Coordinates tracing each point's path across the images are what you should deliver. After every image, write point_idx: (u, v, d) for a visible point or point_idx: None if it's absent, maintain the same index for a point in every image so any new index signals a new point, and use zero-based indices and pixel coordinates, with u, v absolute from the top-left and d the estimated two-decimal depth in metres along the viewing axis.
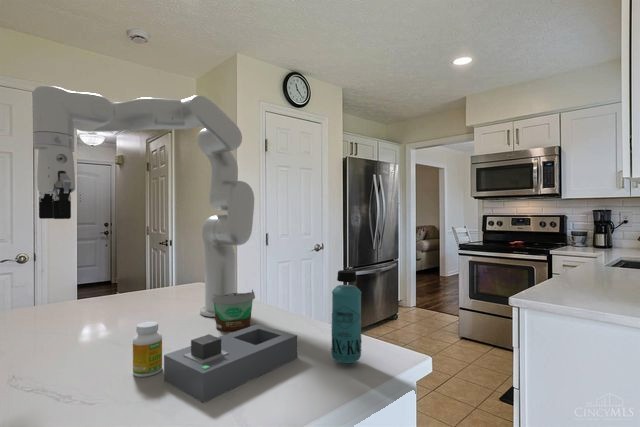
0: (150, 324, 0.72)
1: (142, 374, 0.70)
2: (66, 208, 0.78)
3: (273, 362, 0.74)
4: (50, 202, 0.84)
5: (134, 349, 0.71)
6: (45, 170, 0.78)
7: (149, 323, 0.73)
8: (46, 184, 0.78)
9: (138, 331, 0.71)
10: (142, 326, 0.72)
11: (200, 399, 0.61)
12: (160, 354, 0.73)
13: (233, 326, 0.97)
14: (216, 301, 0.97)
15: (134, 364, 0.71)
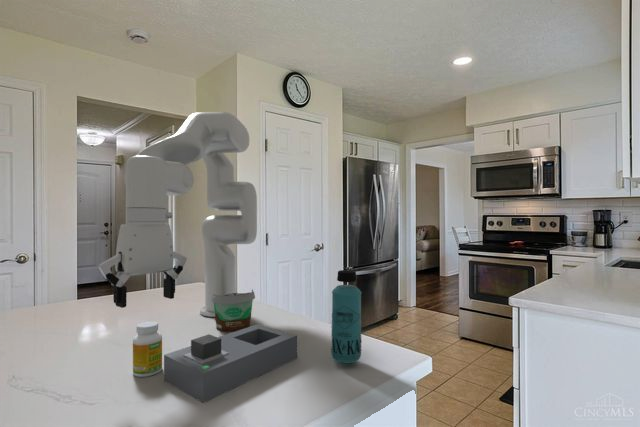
0: (150, 324, 0.72)
1: (142, 374, 0.70)
2: None
3: (273, 362, 0.74)
4: None
5: (134, 349, 0.71)
6: (164, 249, 0.73)
7: (149, 323, 0.73)
8: (163, 264, 0.73)
9: (138, 331, 0.71)
10: (142, 326, 0.72)
11: (200, 399, 0.61)
12: (160, 354, 0.73)
13: (233, 326, 0.97)
14: (216, 301, 0.97)
15: (134, 364, 0.71)
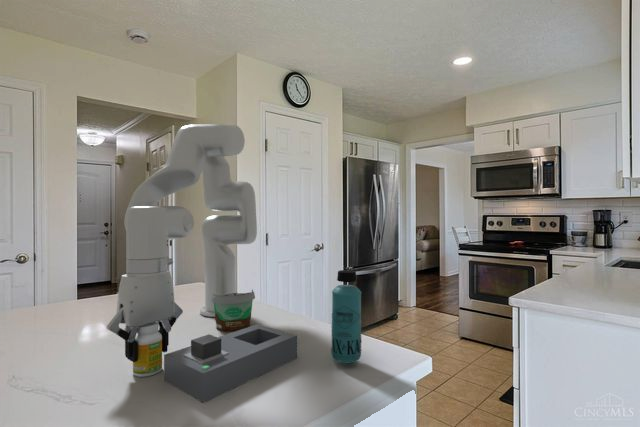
0: (150, 324, 0.72)
1: (142, 374, 0.70)
2: None
3: (273, 362, 0.74)
4: None
5: None
6: (165, 297, 0.74)
7: (149, 323, 0.73)
8: (164, 312, 0.74)
9: (138, 331, 0.71)
10: (142, 326, 0.72)
11: (200, 399, 0.61)
12: (160, 354, 0.73)
13: (233, 326, 0.97)
14: (216, 301, 0.97)
15: (134, 364, 0.71)
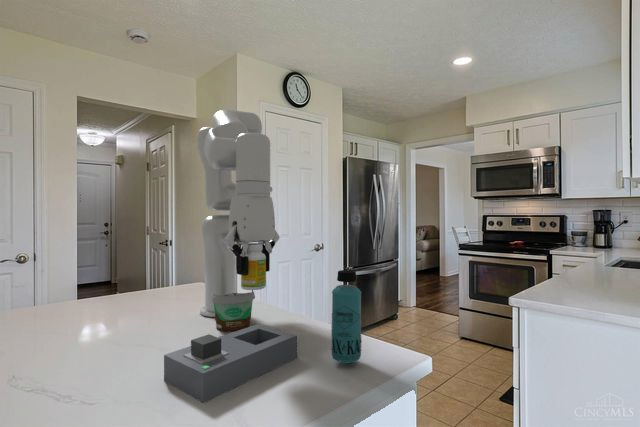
0: (256, 244, 0.78)
1: (252, 287, 0.76)
2: None
3: (273, 362, 0.74)
4: None
5: None
6: (269, 220, 0.79)
7: (254, 243, 0.79)
8: (268, 234, 0.79)
9: None
10: (250, 244, 0.77)
11: (200, 399, 0.61)
12: (265, 271, 0.79)
13: (233, 326, 0.97)
14: (216, 301, 0.97)
15: (244, 278, 0.77)
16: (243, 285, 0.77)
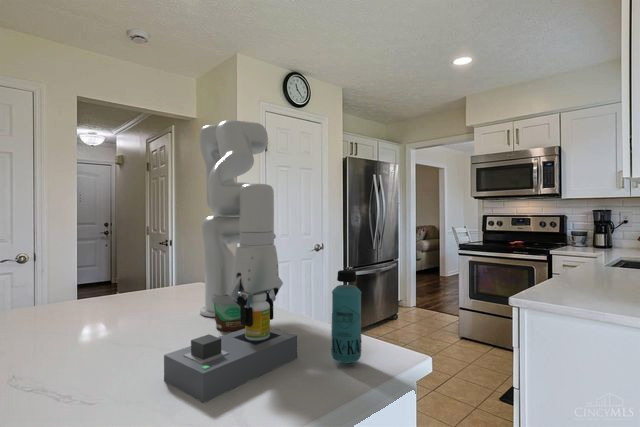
0: (260, 293, 0.78)
1: (256, 338, 0.76)
2: None
3: (273, 362, 0.74)
4: None
5: None
6: (273, 269, 0.80)
7: (258, 292, 0.79)
8: (272, 282, 0.80)
9: None
10: (254, 294, 0.78)
11: (200, 399, 0.61)
12: (269, 321, 0.79)
13: (233, 326, 0.97)
14: (216, 301, 0.97)
15: (248, 329, 0.77)
16: (247, 335, 0.77)
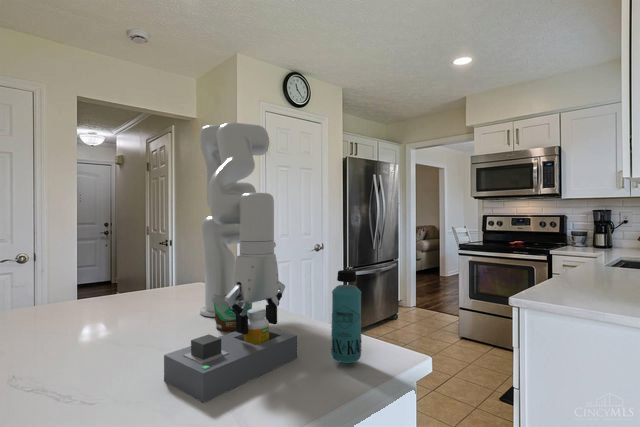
0: (260, 311, 0.79)
1: None
2: None
3: (273, 362, 0.74)
4: None
5: (248, 333, 0.77)
6: (273, 277, 0.80)
7: (257, 310, 0.80)
8: (272, 291, 0.80)
9: (250, 317, 0.77)
10: (254, 312, 0.78)
11: (200, 399, 0.61)
12: (268, 338, 0.79)
13: (233, 326, 0.97)
14: (216, 301, 0.97)
15: None
16: None
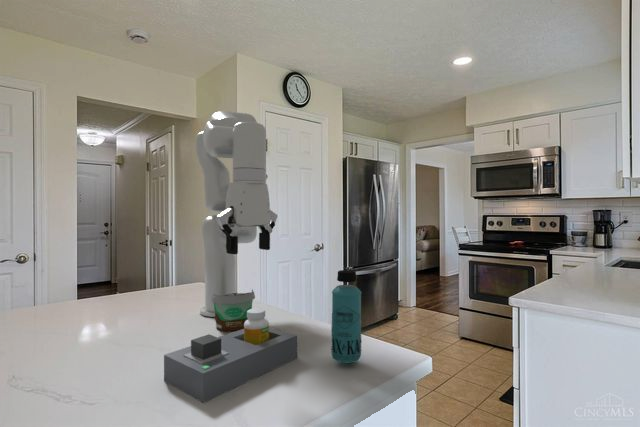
0: (259, 311, 0.79)
1: None
2: None
3: (273, 362, 0.74)
4: None
5: (248, 333, 0.77)
6: (264, 206, 0.83)
7: (257, 309, 0.80)
8: (263, 219, 0.83)
9: (250, 317, 0.77)
10: (253, 312, 0.78)
11: (200, 399, 0.61)
12: (268, 338, 0.79)
13: (233, 326, 0.97)
14: (216, 301, 0.97)
15: None
16: None
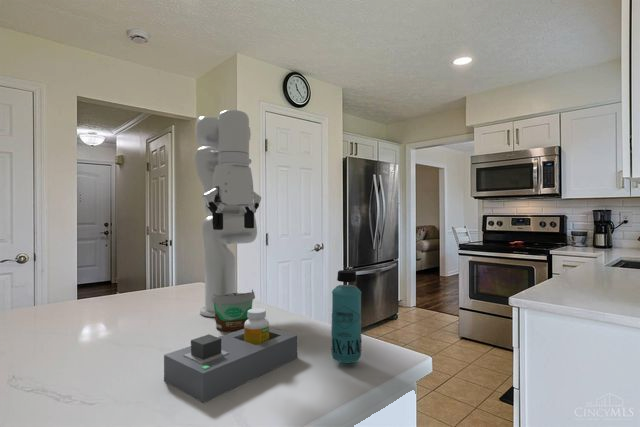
0: (260, 311, 0.79)
1: None
2: None
3: (273, 362, 0.74)
4: None
5: (248, 332, 0.77)
6: (248, 187, 0.91)
7: (257, 309, 0.80)
8: (247, 199, 0.91)
9: (250, 316, 0.77)
10: (254, 312, 0.78)
11: (200, 399, 0.61)
12: (268, 338, 0.79)
13: (233, 326, 0.97)
14: (216, 301, 0.97)
15: None
16: None
